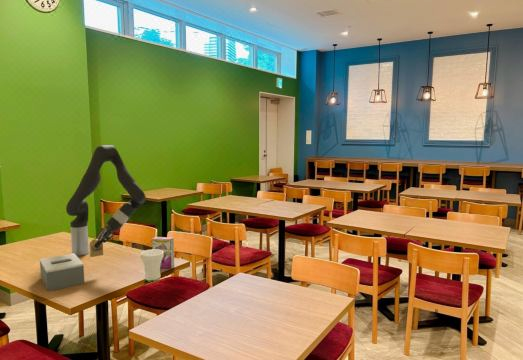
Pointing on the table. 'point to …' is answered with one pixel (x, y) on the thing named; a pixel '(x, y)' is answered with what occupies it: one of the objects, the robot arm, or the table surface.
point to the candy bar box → (165, 250)
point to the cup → (152, 263)
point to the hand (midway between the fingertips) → (94, 246)
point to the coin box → (61, 271)
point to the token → (95, 249)
